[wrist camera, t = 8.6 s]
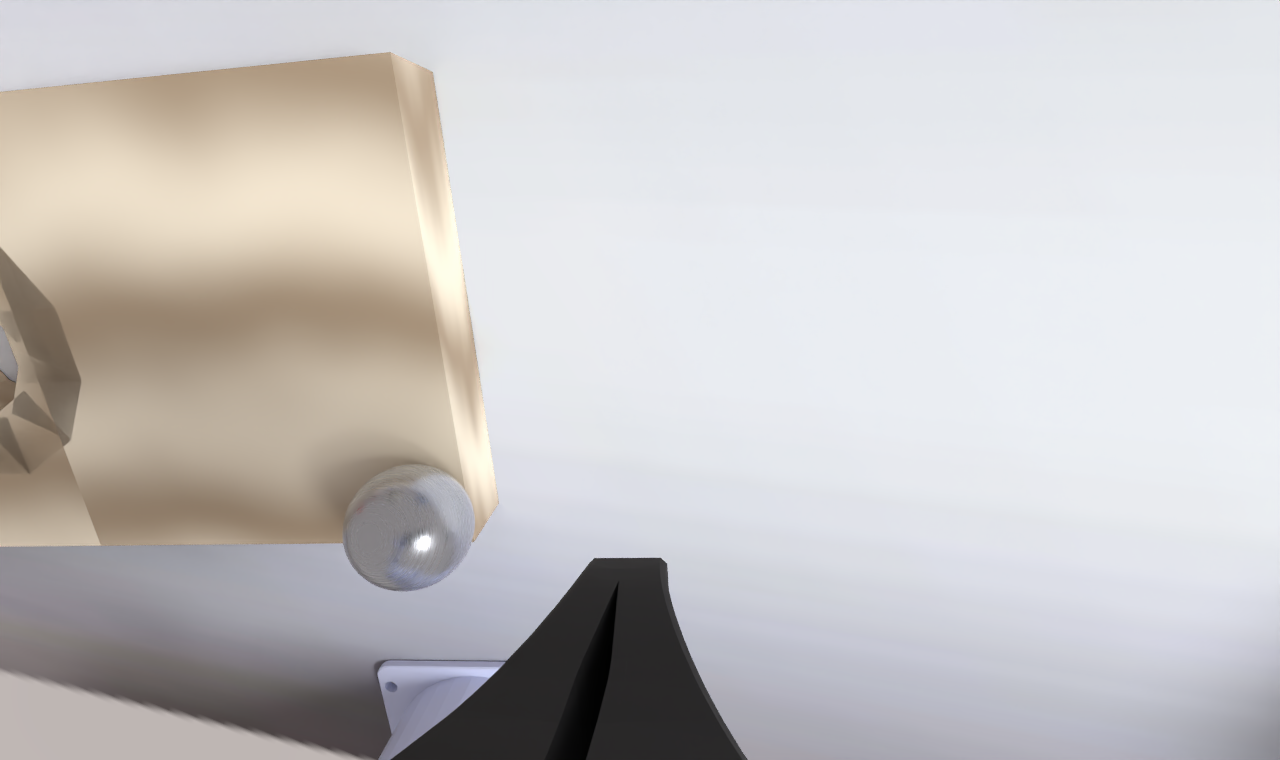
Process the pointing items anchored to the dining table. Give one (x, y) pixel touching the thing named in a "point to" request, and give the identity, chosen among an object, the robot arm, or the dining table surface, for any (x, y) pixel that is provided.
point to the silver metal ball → (408, 527)
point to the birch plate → (230, 305)
